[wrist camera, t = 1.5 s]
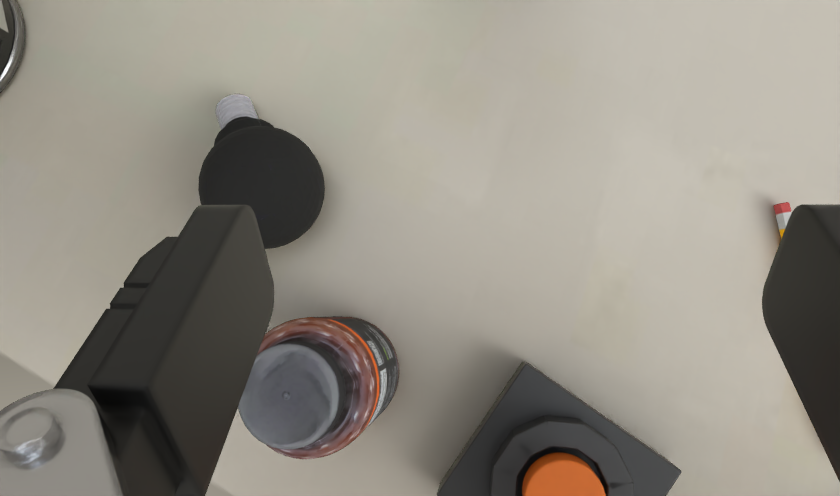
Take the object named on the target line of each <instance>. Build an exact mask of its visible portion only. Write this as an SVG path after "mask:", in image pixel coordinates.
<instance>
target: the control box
mask: <svg viewBox="0 0 840 496" xmlns="http://www.w3.org/2000/svg"><path fill="white" fill-rule="evenodd" d="M556 452H563V453H569V454H572V455H575V456H577V457H579V458H580V459H582V460H583V461H584V462H586V463H587V464H588V465H589V466H590V467H591V469H592V470H593V471H594V473H595V474H596V476H597V477H598V478H599V480H600V482H601V483H602V486H603V488H604V491H605V495H606V496H666V495H667V493H668V492H669V490H670V489H671V487H672V486H673V484H674V483H675V481H676V480H677V478H678V477H679V475H680V474H681V470H680V469H678V468H677V467H676V466H675V465H673V464H672V463H671V462H669V461H668V460H667V459H665V458H664V457H662V456H661V455H659V454H658V453H656V452H655V451H654V450H652V449H651V448H649V447H648V446H646V445H645V444H644V443H642V442H641V441H639V440H638V439H636V438H635V437H633V436H632V435H631V434H629V433H628V432H626V431H625V430H623V429H622V428H620V427H619V426H618V425H616V424H615V423H613V422H612V421H610V420H609V419H608V418H606V417H605V416H603V415H602V414H600V413H599V412H597V411H596V410H595V409H593V408H592V407H590V406H589V405H587V404H586V403H584V402H583V401H582V400H580V399H579V398H577V397H576V396H574V395H573V394H572V393H570V392H569V391H567V390H566V389H564V388H563V387H561V386H560V385H559V384H557V383H556V382H554V381H553V380H551V379H550V378H549V377H547V376H546V375H544V374H543V373H541V372H540V371H538V370H537V369H536V368H534V367H533V366H531V365H530V364H528V363H527V362H525V361H523V362H522V363H521V365H520V366H519V368H518V369H517V371H516V372H515V374H514V375H513V376H512V378H511V379H510V381H509V382H508V384H507V385H506V387H505V388H504V390H503V391H502V393H501V394H500V396H499V397H498V399H497V400H496V401H495V403H494V404H493V406H492V407H491V409H490V410H489V412H488V413H487V415H486V416H485V418H484V419H483V421H482V422H481V424H480V425H479V427H478V428H477V429H476V431H475V432H474V434H473V435H472V437H471V438H470V440H469V441H468V443H467V444H466V446H465V447H464V449H463V450H462V452H461V453H460V455H459V456H458V457H457V459H456V460H455V462H454V463H453V465H452V466H451V468H450V469H449V471H448V472H447V474H446V475H445V477H444V478H443V480H442V481H441V482H440V485H439V489H438V492H437V496H522V485H523V480H524V476H525V474H526V472H527V470H528V469H529V467H530V466H531V465H532V464H533V463H534V462H535V461H536V460H537V459H539V458H540V457H542V456H544V455H547V454H550V453H556Z"/></svg>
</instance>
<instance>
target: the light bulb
mask: <svg viewBox="0 0 840 496" xmlns="http://www.w3.org/2000/svg"><path fill="white" fill-rule="evenodd" d="M216 116H217V119H218V121H219V125H220V128H221V131H220V132H219V134H218V135H217V137H216V139H215V143H214V147H213V148H212V149H211V150H210V152H209V153H208V155H207V156H206V158H205V160H204V162H203V165H202V168H201V172H200V176H199V195H200V201H201V205H249V206H250V207H251V208H252V209H253V211H254V213H255V216H256V219H257V223H258V227H259V230H260V234H261V238H262V241H263V245H264V249H269V248H276V247H280V246H283V245H286V244H288V243H290V242H292V241H294V240H296V239H298V238H299V237H300V236H302V235H303V234H304V233H305V232H306V231H307V230H308V229H309V228H310V227H311V226H312V224H313V223H314V222H315V220H316V218H317V217H318V215H319V212H320V210H321V207H322V203H323V199H324V190H325V188H324V179H323V173H322V170H321V167H320V165H319V163H318V161H317V159H316V157H315V156H314V154H313V153H312V152H311V150H310V149H309V147H308V146H306V145H305V144H304V143H303V142H302V141H301V140H300V139H299V138H297V137H295V136H294V135H292V134H290V133H288V132H286V131H284V130H281V129H278V128H274V127H273V126H272V125H271V124H270V123H268V122H266V121H264V120H261V119H258V116H257V113H256V110H255V108H254V106H253V103H252V101H251V99H250V98H249V97H247V96H246V95H242V94H232V95H228V96H226V97H224V98H223V99H221V100H220V101H219V103H218V104H217V106H216Z"/></svg>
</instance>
